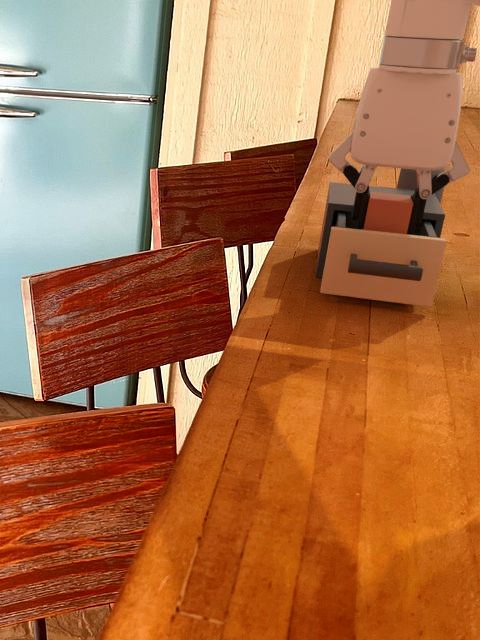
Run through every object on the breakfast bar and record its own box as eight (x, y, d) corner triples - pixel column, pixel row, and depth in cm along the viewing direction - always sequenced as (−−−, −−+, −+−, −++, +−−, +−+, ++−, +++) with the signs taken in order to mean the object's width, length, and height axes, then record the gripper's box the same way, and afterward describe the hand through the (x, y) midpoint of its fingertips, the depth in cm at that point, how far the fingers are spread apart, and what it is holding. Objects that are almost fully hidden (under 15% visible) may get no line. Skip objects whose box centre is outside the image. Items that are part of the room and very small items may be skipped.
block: (404, 242, 96) (413, 202, 95) (362, 238, 98) (369, 198, 96) (402, 234, 100) (410, 195, 99) (361, 229, 102) (368, 191, 100)
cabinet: (428, 291, 103) (445, 214, 100) (315, 277, 107) (328, 202, 104) (418, 260, 116) (433, 191, 113) (318, 249, 120) (329, 182, 117)
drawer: (436, 321, 90) (452, 252, 88) (319, 306, 94) (331, 238, 91) (421, 274, 107) (435, 215, 104) (322, 263, 110) (332, 204, 107)
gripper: (503, 60, 93) (462, 231, 100) (334, 51, 98) (306, 214, 105) (516, 63, 86) (471, 246, 93) (333, 53, 91) (303, 227, 98)
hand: (384, 227), depth 99 cm, fingers closed on block, 4 cm apart
